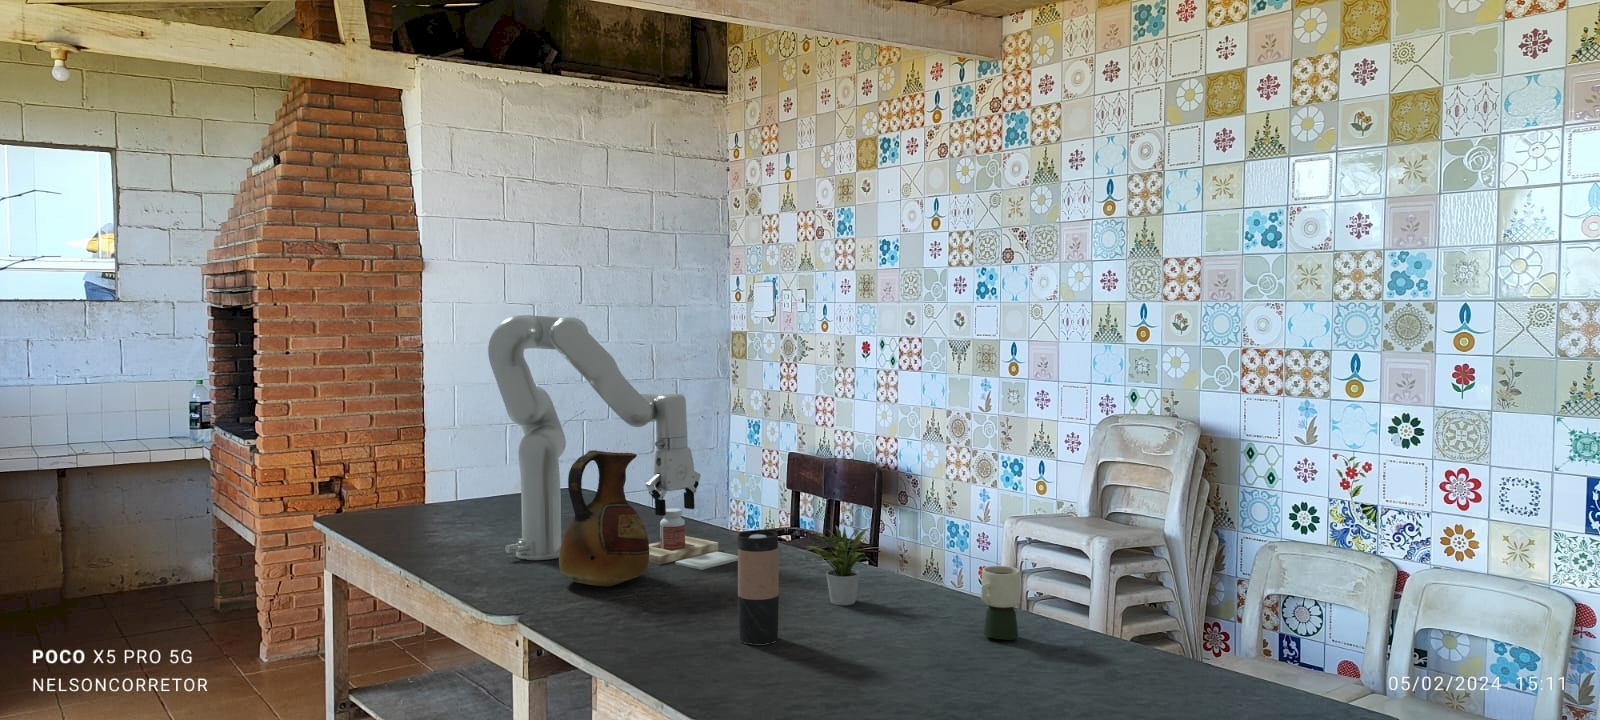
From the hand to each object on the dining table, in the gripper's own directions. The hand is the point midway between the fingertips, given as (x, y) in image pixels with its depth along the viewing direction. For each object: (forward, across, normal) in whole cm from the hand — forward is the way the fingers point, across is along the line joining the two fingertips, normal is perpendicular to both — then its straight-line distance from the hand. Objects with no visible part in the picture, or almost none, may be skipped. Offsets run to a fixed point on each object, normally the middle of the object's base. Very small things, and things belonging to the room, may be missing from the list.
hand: (675, 511), depth 282 cm
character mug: (+13, -9, -98) cm, 99 cm away
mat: (+11, -1, -12) cm, 16 cm away
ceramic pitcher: (+10, -30, -8) cm, 33 cm away
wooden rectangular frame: (+10, -1, +1) cm, 11 cm away
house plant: (+12, -7, -59) cm, 61 cm away
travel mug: (+11, -39, -64) cm, 76 cm away
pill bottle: (+11, -1, +1) cm, 11 cm away
